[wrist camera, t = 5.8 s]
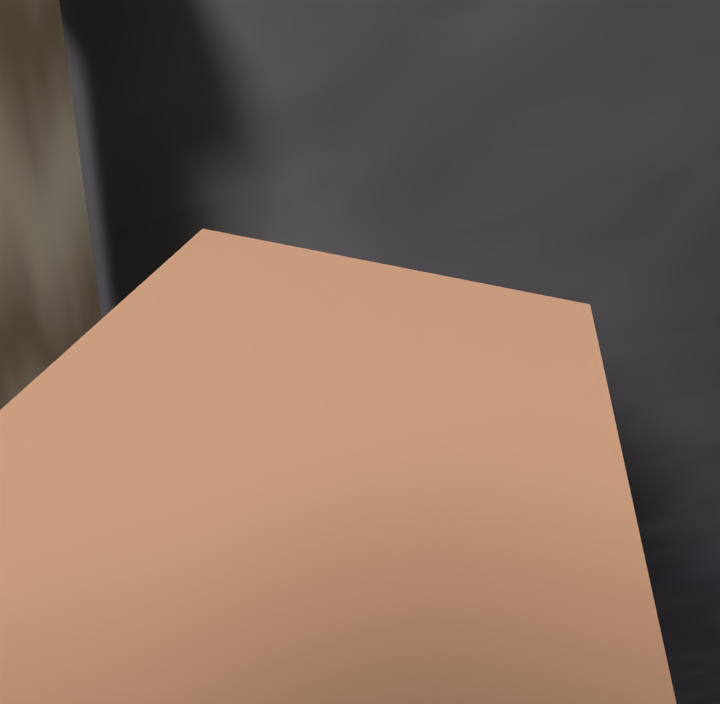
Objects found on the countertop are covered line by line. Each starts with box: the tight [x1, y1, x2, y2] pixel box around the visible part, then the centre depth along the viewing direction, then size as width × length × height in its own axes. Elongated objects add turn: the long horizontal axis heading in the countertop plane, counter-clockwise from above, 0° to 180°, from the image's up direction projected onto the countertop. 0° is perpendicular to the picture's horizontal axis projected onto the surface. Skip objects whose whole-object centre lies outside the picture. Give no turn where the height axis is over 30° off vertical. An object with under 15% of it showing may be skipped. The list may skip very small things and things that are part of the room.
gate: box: [0, 0, 101, 410], centre depth 15 cm, size 16×1×5 cm, turn 173°
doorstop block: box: [0, 229, 676, 704], centre depth 7 cm, size 6×5×6 cm
